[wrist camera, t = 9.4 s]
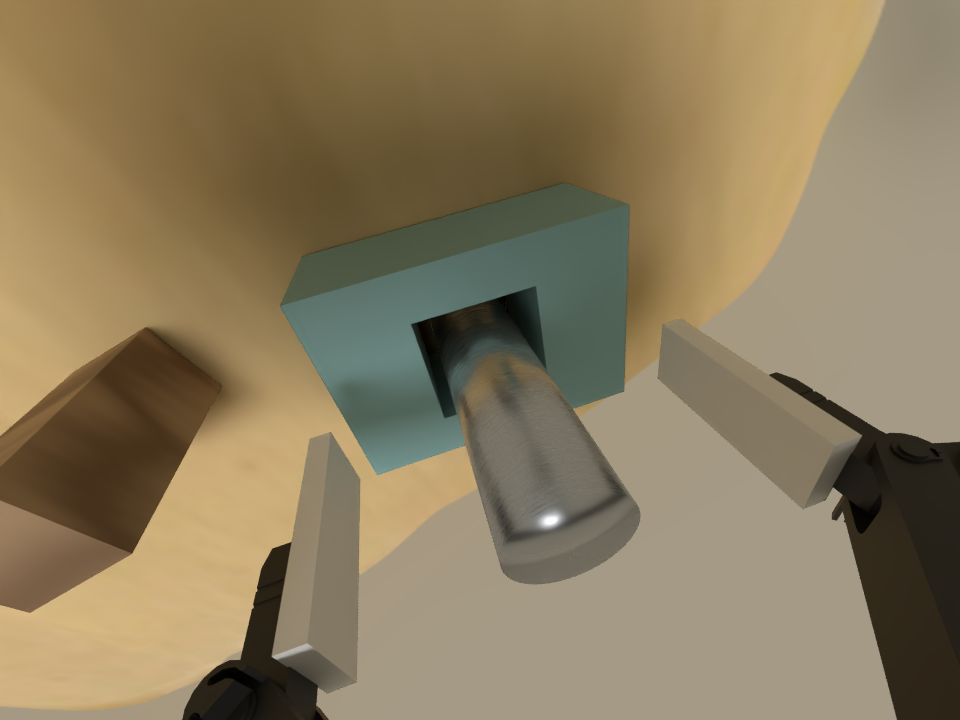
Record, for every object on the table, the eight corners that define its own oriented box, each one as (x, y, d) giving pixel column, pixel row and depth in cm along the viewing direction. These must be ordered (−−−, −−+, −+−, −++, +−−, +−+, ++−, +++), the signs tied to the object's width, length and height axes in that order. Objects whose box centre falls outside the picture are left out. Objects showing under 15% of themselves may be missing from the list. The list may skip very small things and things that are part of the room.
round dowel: (418, 283, 21) (487, 527, 9) (487, 263, 21) (645, 473, 9) (436, 342, 23) (511, 599, 11) (498, 323, 24) (636, 553, 11)
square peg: (73, 372, 19) (-147, 565, 11) (145, 327, 19) (-25, 490, 11) (156, 425, 22) (29, 612, 13) (221, 386, 21) (132, 553, 13)
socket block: (302, 256, 19) (279, 306, 14) (564, 182, 20) (629, 204, 15) (374, 403, 24) (377, 475, 20) (575, 338, 26) (624, 391, 21)
